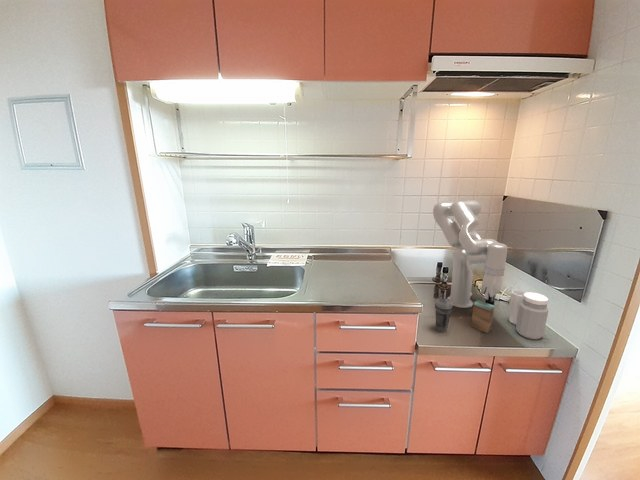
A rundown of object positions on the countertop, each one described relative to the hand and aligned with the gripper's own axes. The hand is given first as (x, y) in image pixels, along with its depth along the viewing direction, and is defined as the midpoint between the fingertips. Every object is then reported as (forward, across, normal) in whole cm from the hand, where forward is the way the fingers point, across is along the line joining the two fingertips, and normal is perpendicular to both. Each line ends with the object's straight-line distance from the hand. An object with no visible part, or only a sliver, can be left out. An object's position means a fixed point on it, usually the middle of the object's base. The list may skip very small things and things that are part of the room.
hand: (489, 307), depth 126 cm
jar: (+8, -5, +15) cm, 18 cm away
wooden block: (+8, +6, 0) cm, 10 cm away
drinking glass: (+8, -11, +8) cm, 16 cm away
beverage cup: (+8, +20, -11) cm, 24 cm away
